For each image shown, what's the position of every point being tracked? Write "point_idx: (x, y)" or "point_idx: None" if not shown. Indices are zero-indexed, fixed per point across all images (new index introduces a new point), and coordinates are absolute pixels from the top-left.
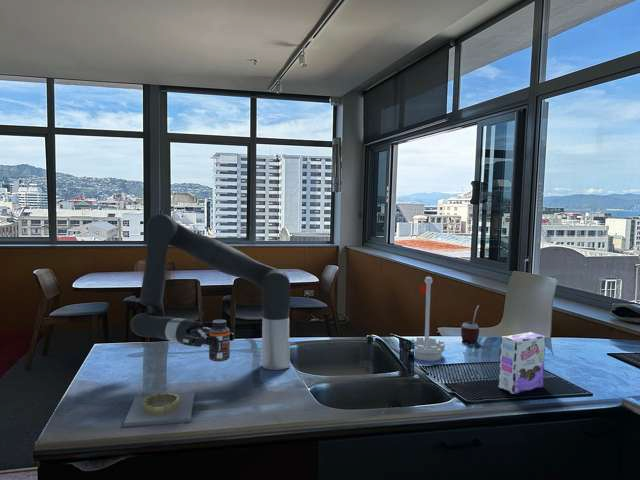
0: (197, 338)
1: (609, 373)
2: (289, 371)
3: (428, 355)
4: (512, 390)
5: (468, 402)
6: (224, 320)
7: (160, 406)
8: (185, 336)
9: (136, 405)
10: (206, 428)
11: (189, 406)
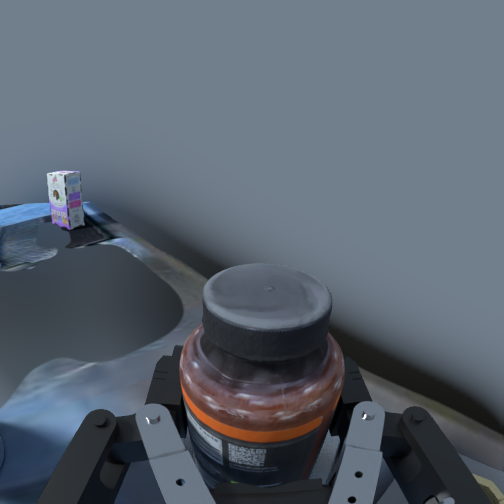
0: (430, 415)
1: (37, 207)
2: (7, 415)
3: None
4: (84, 222)
5: (111, 237)
6: (226, 276)
7: (480, 478)
8: (483, 499)
9: None
10: (402, 402)
11: (396, 488)
